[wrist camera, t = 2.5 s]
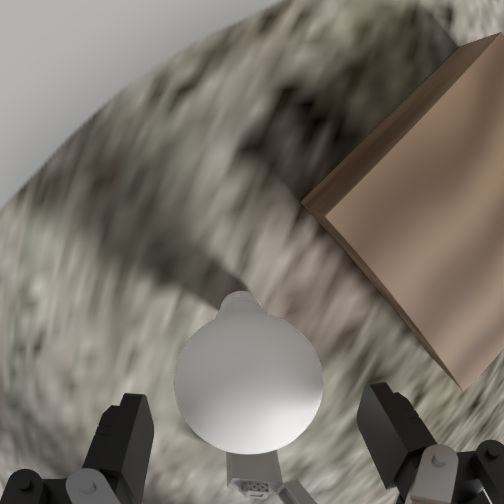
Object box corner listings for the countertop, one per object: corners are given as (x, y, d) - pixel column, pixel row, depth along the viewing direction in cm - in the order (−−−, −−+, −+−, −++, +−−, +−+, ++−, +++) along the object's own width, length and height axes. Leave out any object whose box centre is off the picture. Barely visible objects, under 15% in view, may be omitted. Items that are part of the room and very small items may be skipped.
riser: (543, 217, 20) (580, 228, 16) (432, 358, 23) (463, 391, 18) (458, 47, 16) (501, 32, 11) (299, 202, 19) (324, 216, 14)
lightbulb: (281, 346, 21) (320, 477, 11) (191, 341, 21) (170, 477, 10) (294, 261, 20) (363, 366, 9) (193, 254, 19) (157, 362, 8)
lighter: (225, 450, 24) (228, 525, 16) (231, 438, 23) (234, 516, 16) (299, 458, 25) (316, 526, 17) (306, 448, 25) (326, 518, 17)
